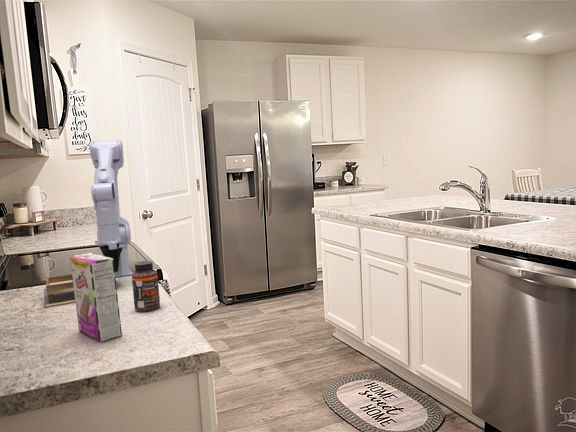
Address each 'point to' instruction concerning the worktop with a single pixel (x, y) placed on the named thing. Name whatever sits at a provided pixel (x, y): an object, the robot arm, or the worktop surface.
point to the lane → (59, 299)
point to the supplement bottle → (145, 287)
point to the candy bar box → (96, 296)
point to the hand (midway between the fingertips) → (112, 270)
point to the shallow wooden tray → (58, 285)
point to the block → (119, 269)
